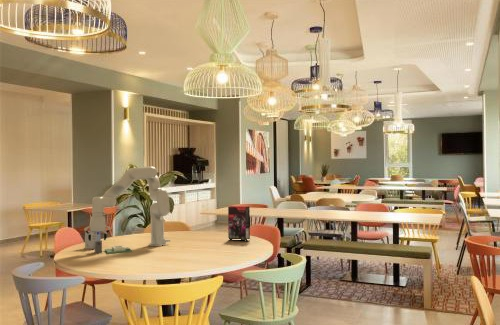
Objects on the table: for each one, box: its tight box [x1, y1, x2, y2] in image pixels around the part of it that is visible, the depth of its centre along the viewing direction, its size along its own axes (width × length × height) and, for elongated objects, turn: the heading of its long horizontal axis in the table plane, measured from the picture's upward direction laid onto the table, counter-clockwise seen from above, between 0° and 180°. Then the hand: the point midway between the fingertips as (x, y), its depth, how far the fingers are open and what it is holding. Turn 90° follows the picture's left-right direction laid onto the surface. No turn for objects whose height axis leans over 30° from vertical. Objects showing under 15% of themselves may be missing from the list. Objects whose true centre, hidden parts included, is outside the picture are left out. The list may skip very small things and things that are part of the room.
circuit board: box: [104, 245, 133, 255], centre depth 310 cm, size 16×13×3 cm
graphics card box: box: [227, 205, 251, 240], centre depth 356 cm, size 17×7×27 cm, turn 58°
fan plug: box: [94, 240, 103, 254], centre depth 304 cm, size 4×9×8 cm, turn 26°
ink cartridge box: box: [84, 230, 102, 250], centre depth 323 cm, size 10×6×14 cm, turn 78°
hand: (97, 240), depth 306 cm, fingers open, 9 cm apart
